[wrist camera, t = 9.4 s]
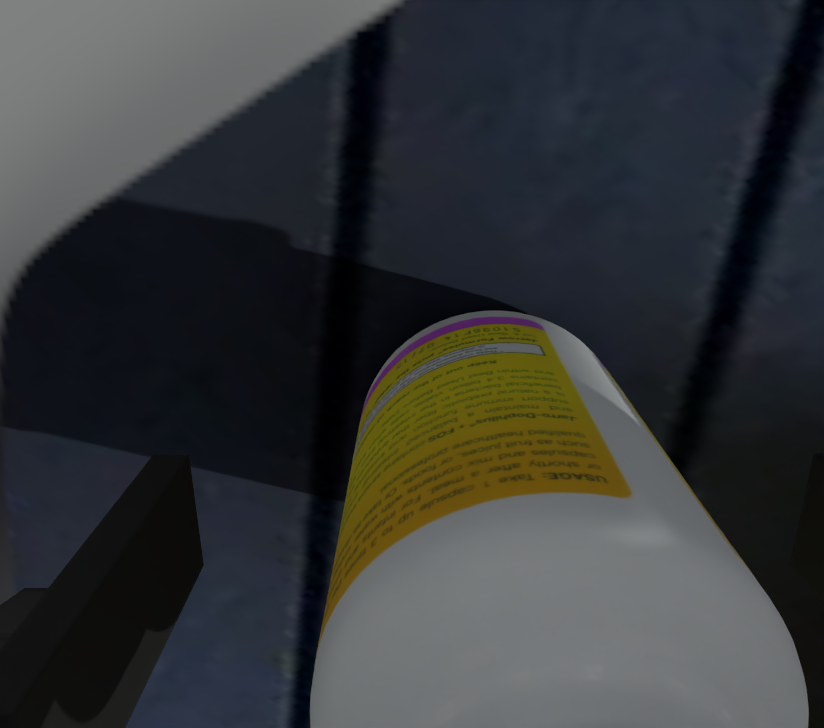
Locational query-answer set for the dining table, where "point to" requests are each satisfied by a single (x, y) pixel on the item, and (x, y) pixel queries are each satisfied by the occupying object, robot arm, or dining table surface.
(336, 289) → the dining table surface
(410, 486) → the supplement bottle
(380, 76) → the dining table surface
